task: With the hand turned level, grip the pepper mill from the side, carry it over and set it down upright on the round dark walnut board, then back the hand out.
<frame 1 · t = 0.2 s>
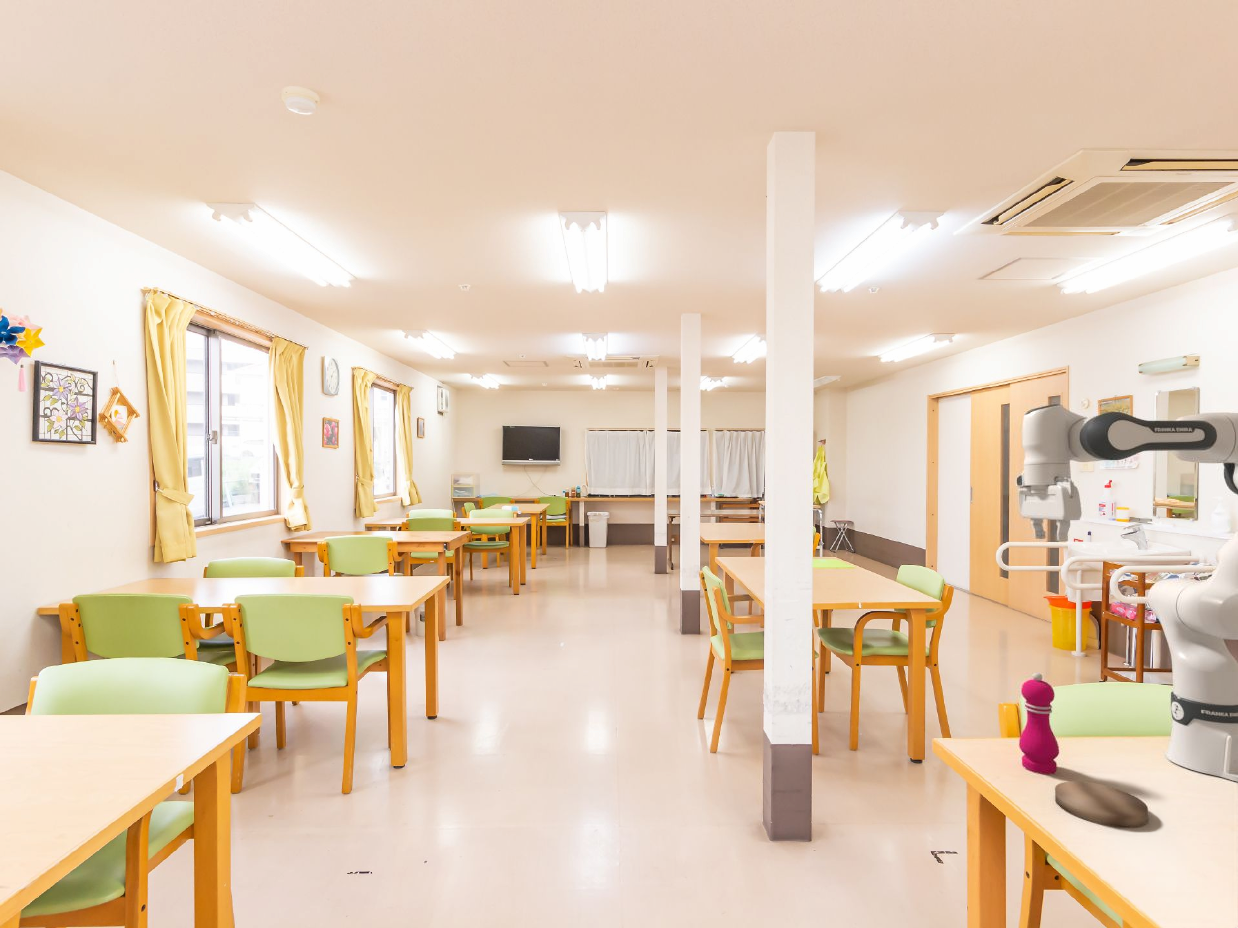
hand: (1050, 540, 150), 48 cm above the table, tool pointing down, fingers open, 8 cm apart
pepper mill: (1039, 768, 143), on the table
walnut board: (1100, 808, 125), on the table
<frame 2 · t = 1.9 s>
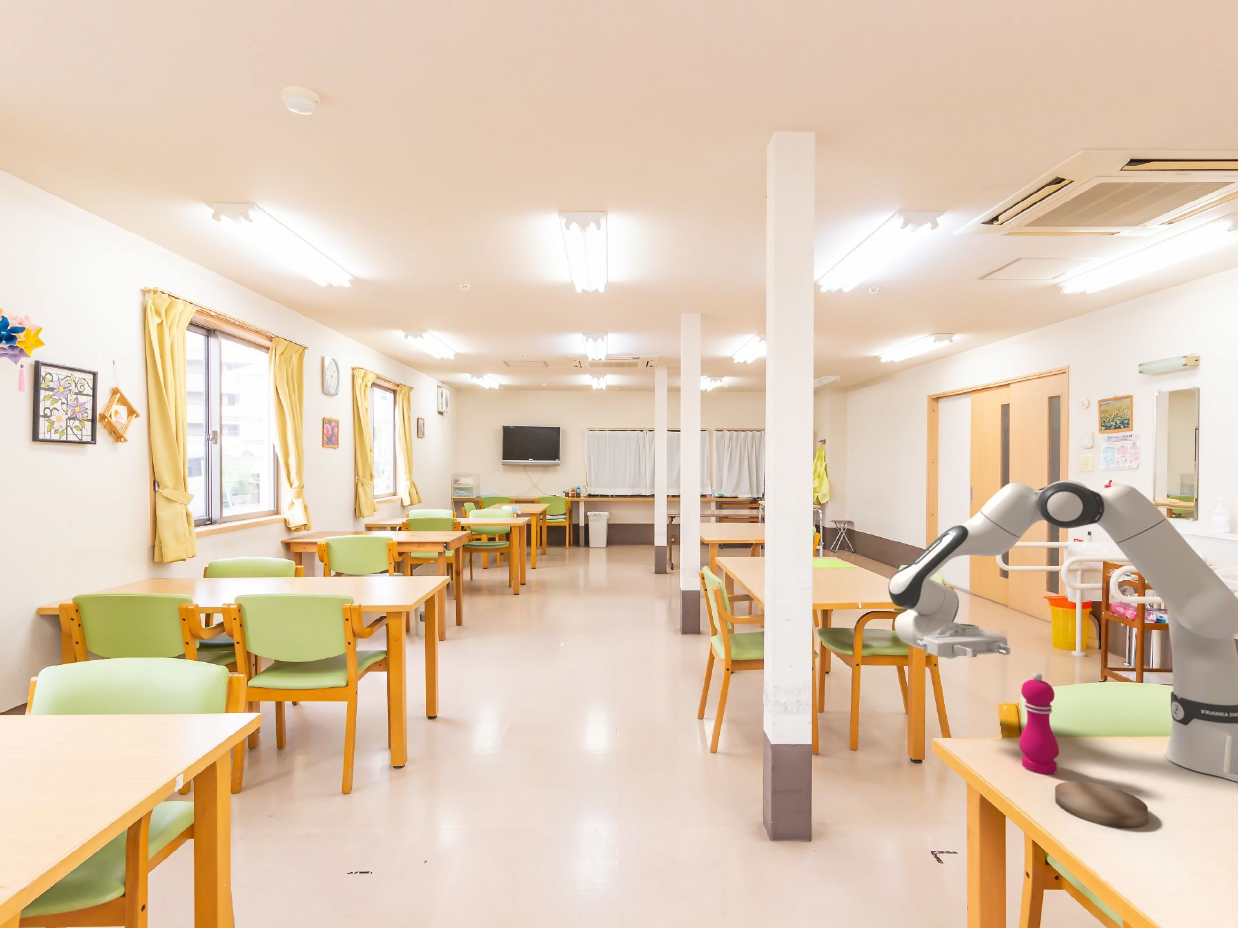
hand: (991, 652, 156), 21 cm above the table, tool horizontal, fingers open, 8 cm apart
nothing on the table moved.
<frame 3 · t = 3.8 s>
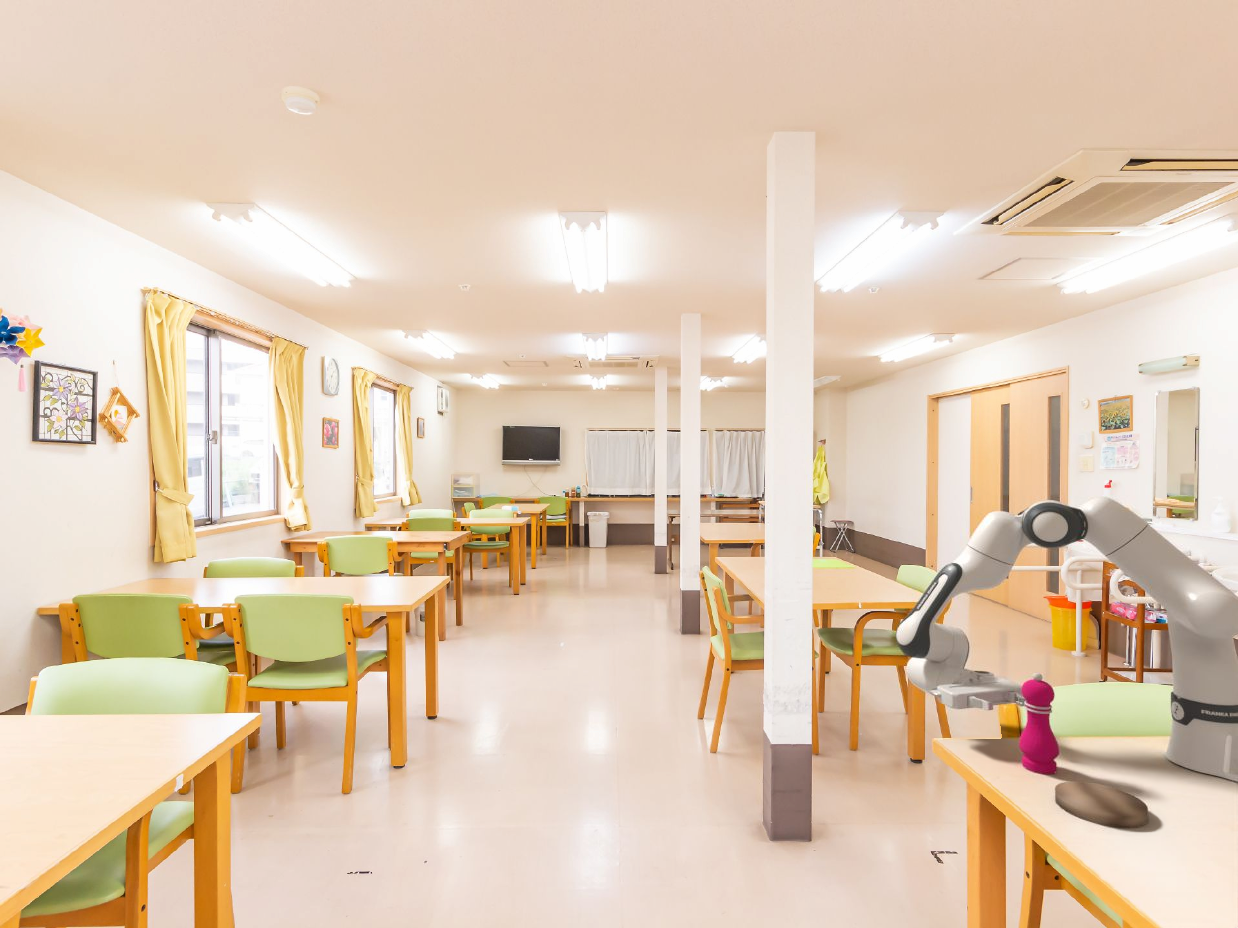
hand: (1007, 704, 151), 11 cm above the table, tool horizontal, fingers open, 8 cm apart
nothing on the table moved.
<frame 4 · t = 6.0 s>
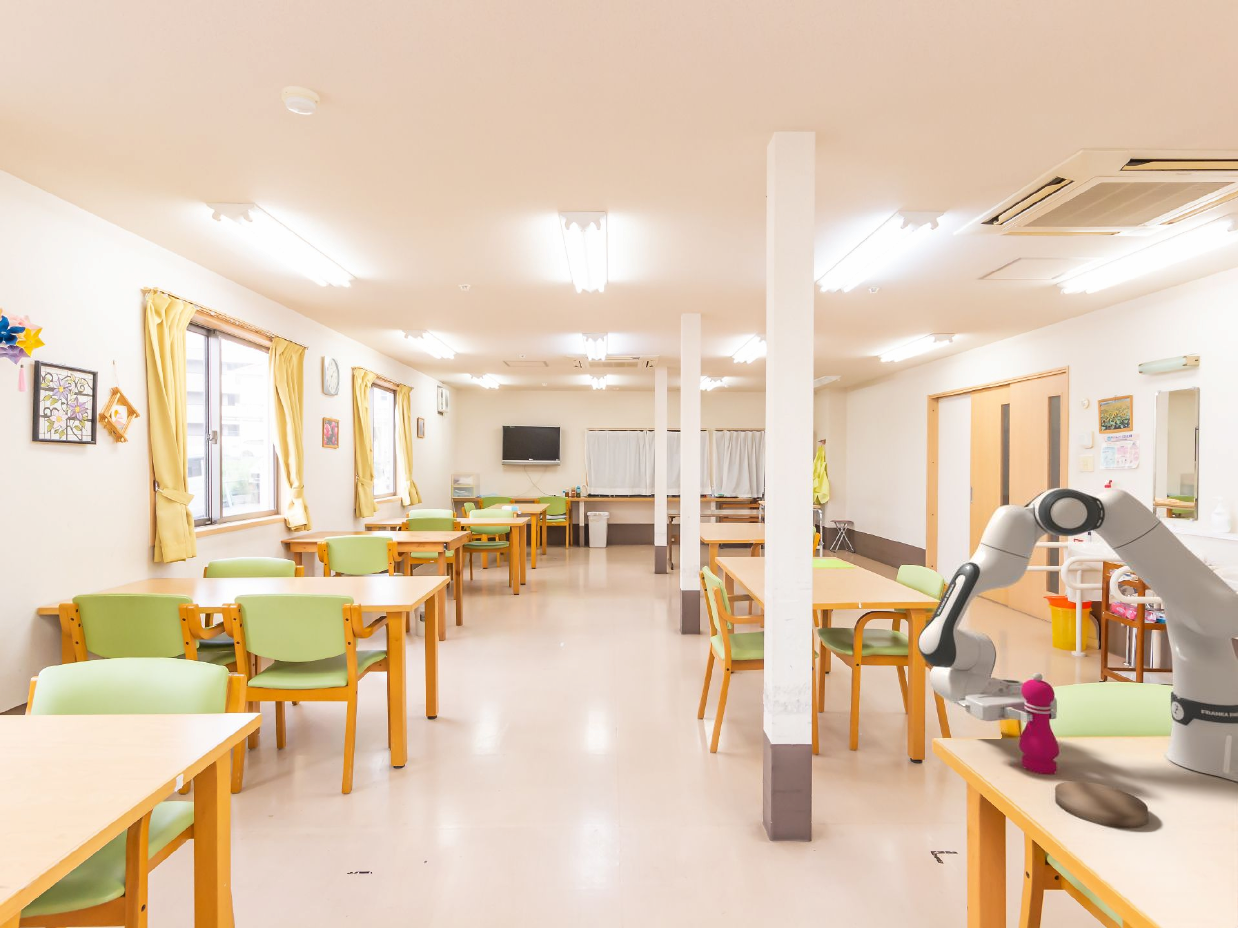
hand: (1041, 716, 143), 11 cm above the table, tool horizontal, fingers closed on pepper mill, 5 cm apart
pepper mill: (1039, 768, 143), on the table, touching gripper
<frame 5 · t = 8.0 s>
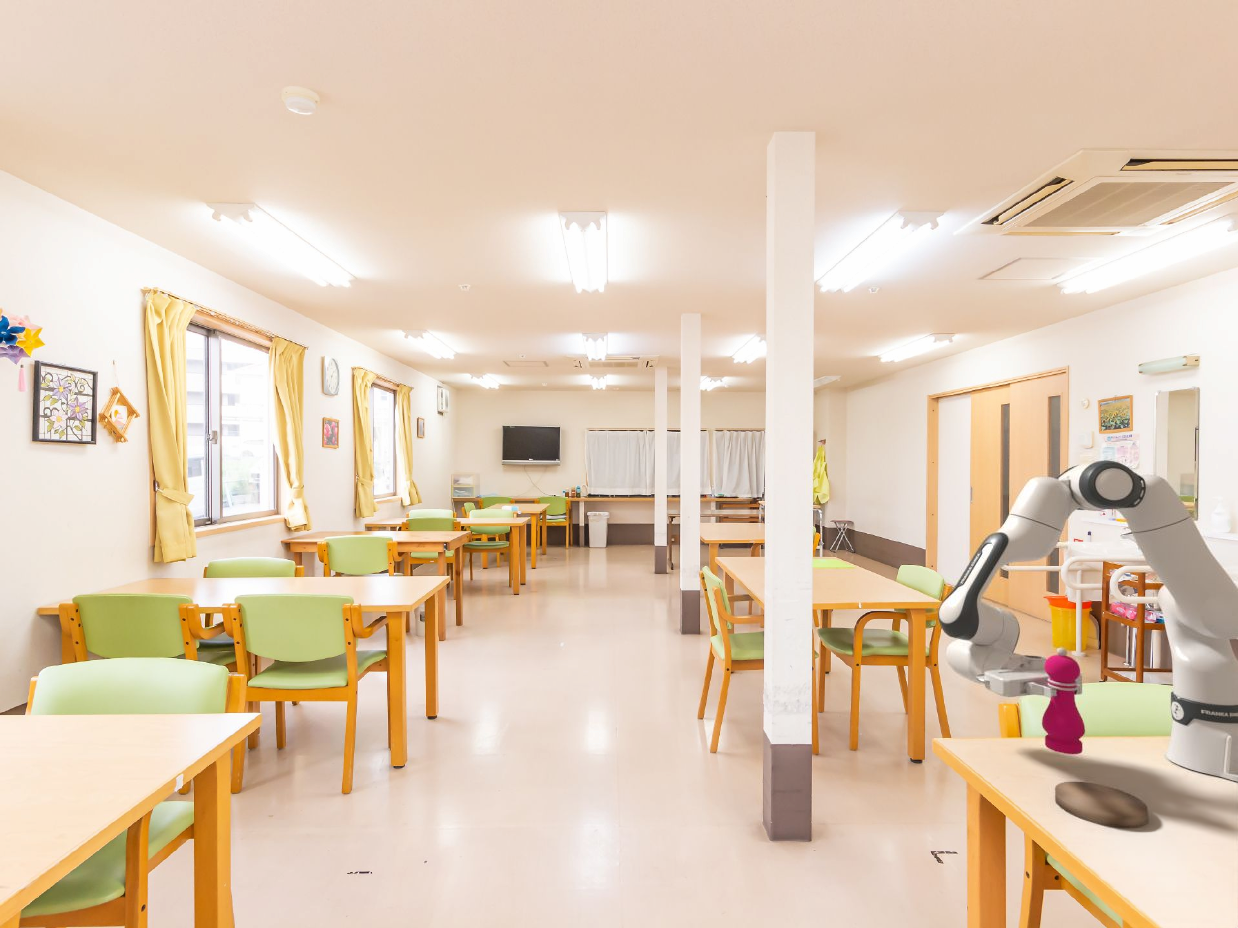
hand: (1066, 691, 135), 19 cm above the table, tool horizontal, fingers closed on pepper mill, 5 cm apart
pepper mill: (1063, 749, 136), point 7 cm above the table, touching gripper
when the fingers open (14 cm above the table, at t = 10.1 s): pepper mill stays where it is, resting on walnut board.
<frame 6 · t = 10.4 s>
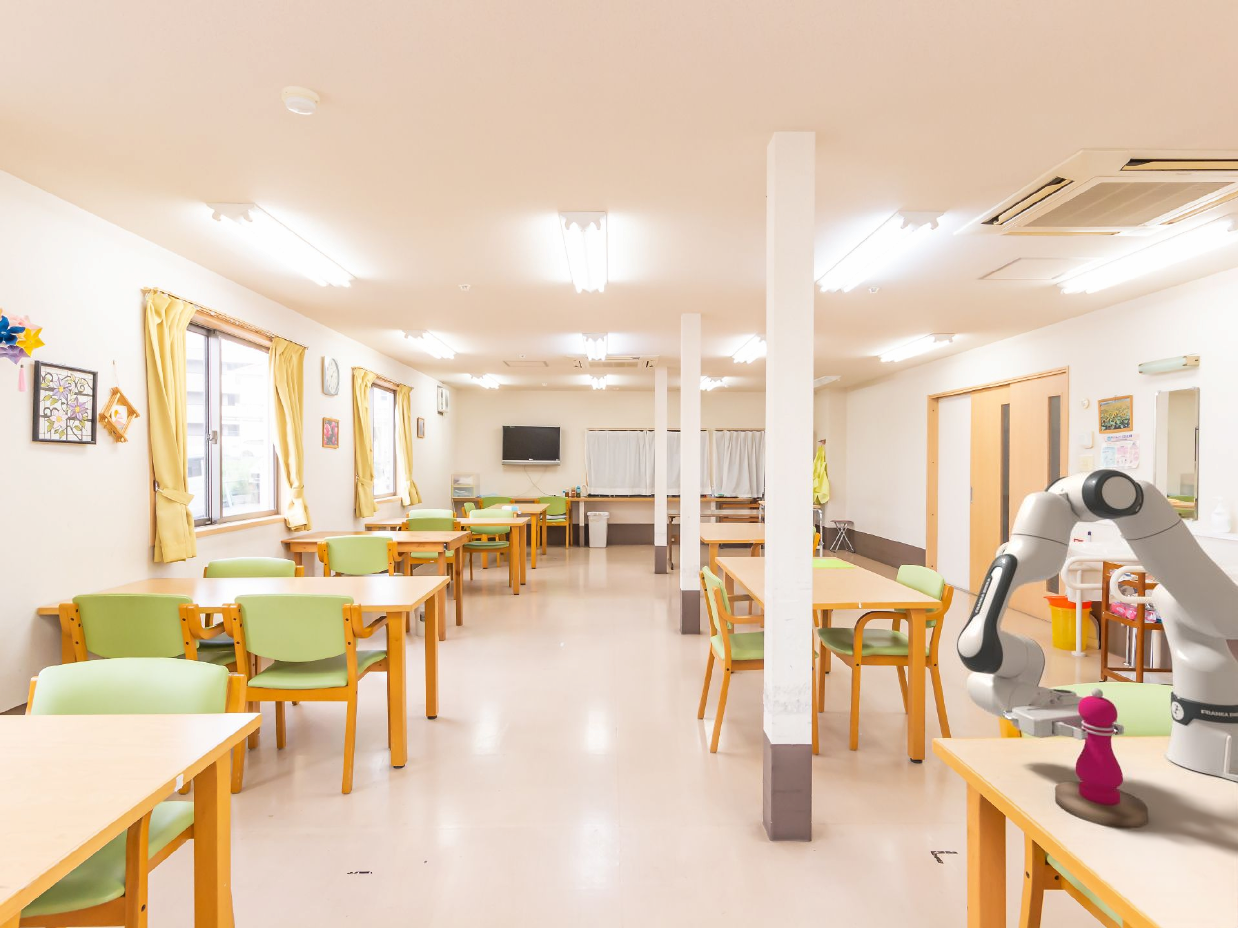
hand: (1103, 732, 125), 14 cm above the table, tool horizontal, fingers open, 7 cm apart
pepper mill: (1099, 798, 126), point 2 cm above the table, touching walnut board
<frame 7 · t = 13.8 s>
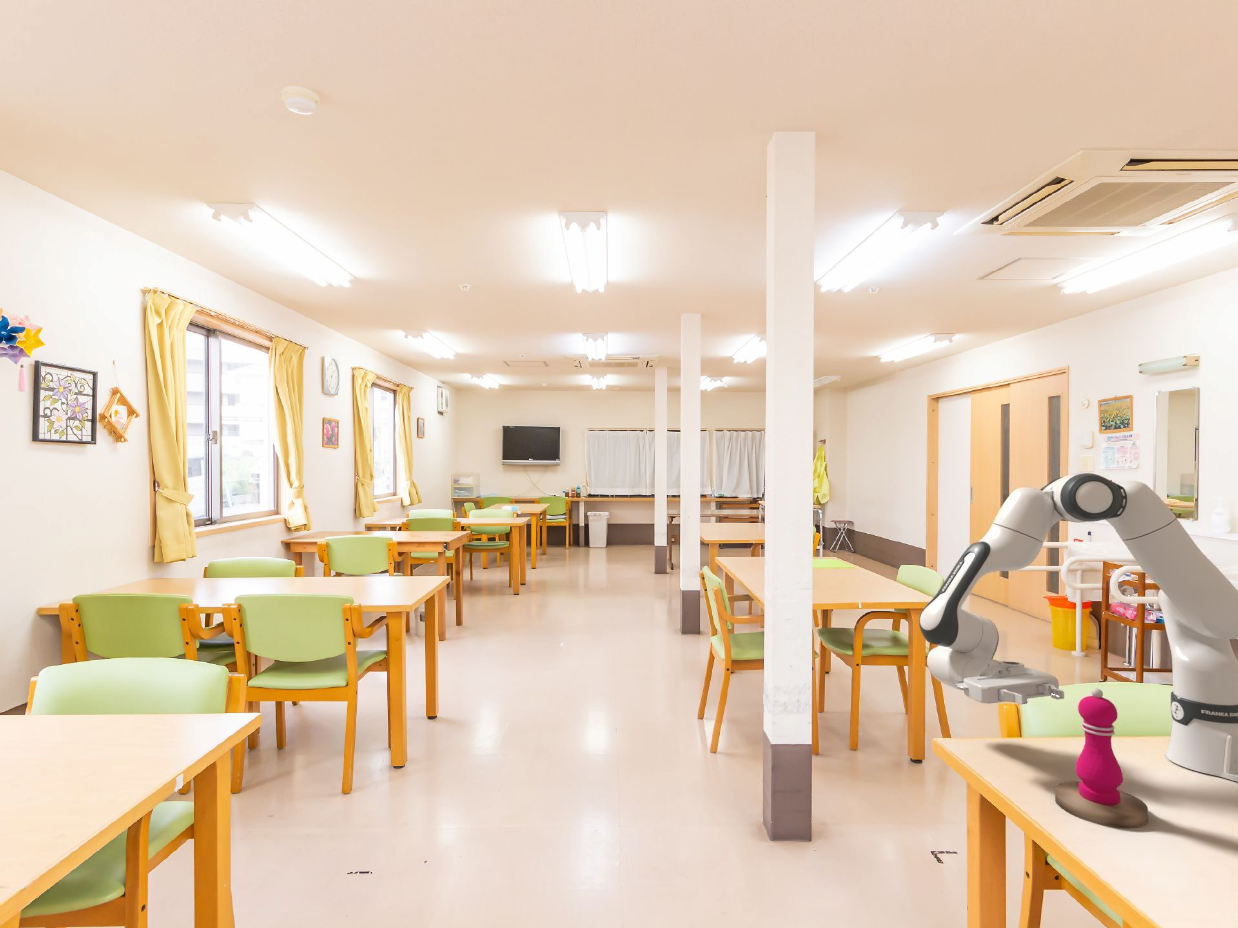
hand: (1043, 697, 137), 17 cm above the table, tool horizontal, fingers open, 8 cm apart
nothing on the table moved.
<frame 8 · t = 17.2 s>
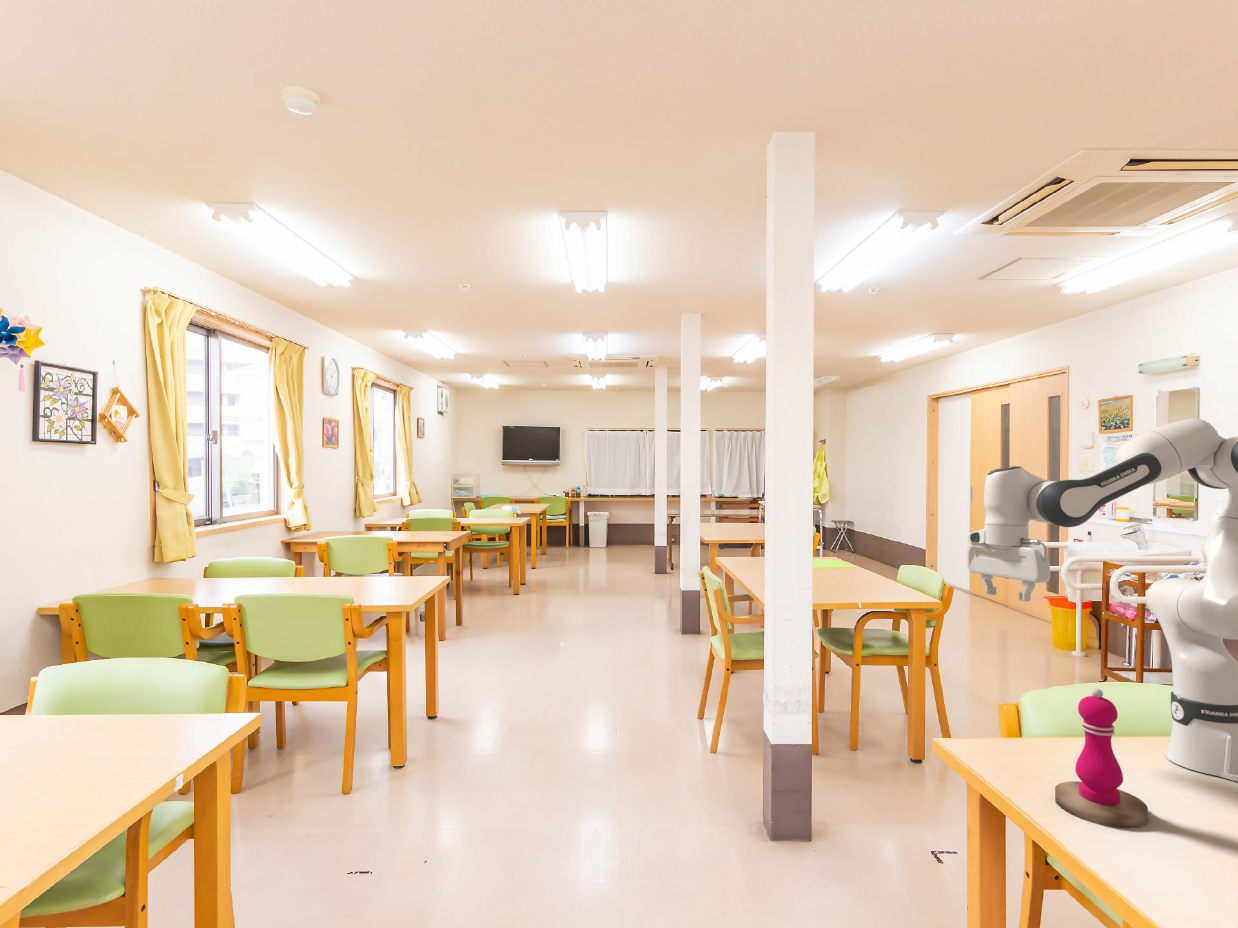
hand: (1007, 597, 156), 34 cm above the table, tool pointing down, fingers open, 8 cm apart
nothing on the table moved.
at the end: pepper mill inside the target area on the walnut board (0.2 cm from its centre), point 1.8 cm above the walnut board's base; pepper mill tilted 0°; the gripper is holding nothing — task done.
